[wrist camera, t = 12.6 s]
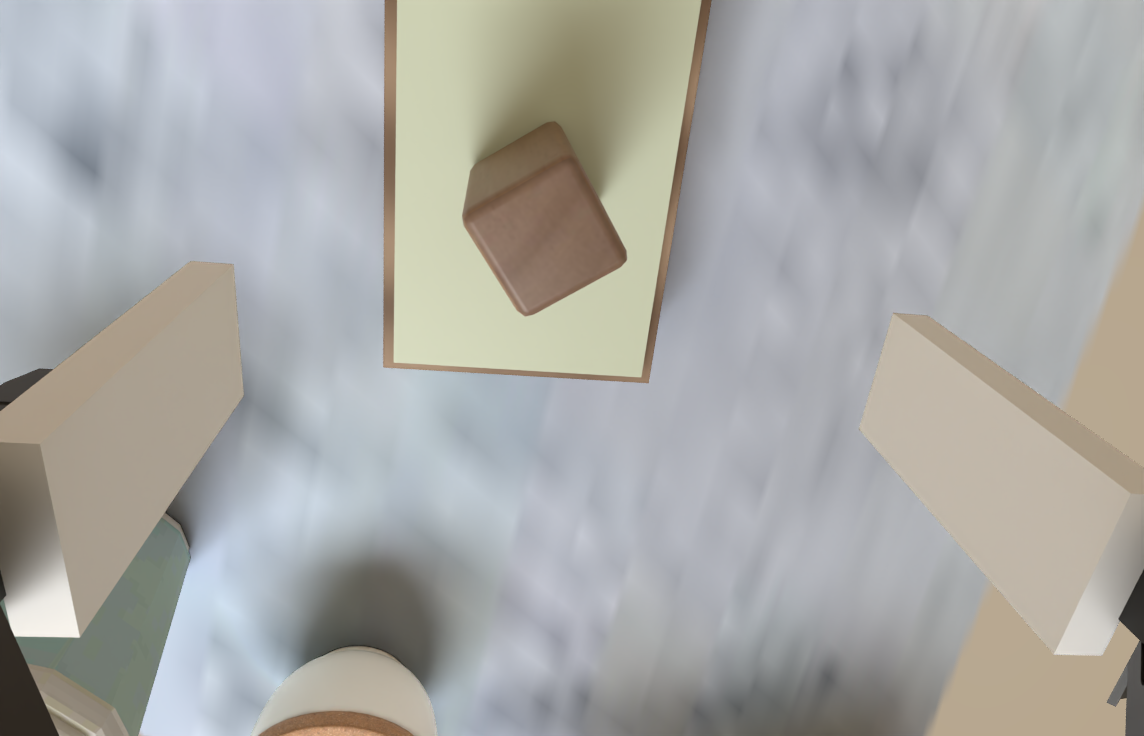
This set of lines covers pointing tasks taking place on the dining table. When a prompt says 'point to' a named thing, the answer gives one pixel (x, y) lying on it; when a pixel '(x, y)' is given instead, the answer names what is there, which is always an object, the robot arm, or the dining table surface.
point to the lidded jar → (349, 698)
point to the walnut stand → (501, 116)
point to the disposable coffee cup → (114, 645)
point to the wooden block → (540, 220)
